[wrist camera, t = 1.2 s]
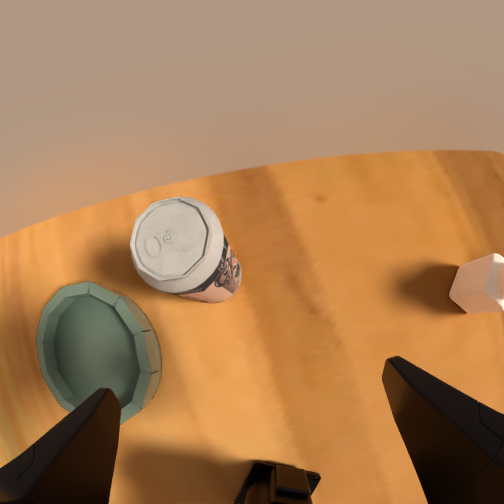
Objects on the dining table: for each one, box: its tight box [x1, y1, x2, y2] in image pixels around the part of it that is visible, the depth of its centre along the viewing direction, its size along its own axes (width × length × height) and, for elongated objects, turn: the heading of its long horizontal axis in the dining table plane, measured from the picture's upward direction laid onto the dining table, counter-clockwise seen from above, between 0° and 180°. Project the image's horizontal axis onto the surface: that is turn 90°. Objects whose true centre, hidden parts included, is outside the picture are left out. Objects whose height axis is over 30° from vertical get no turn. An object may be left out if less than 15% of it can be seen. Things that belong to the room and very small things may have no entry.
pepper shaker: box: [449, 253, 504, 314], centre depth 18 cm, size 4×4×10 cm
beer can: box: [130, 197, 242, 303], centre depth 18 cm, size 5×5×12 cm
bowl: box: [36, 281, 162, 425], centre depth 22 cm, size 13×13×3 cm
